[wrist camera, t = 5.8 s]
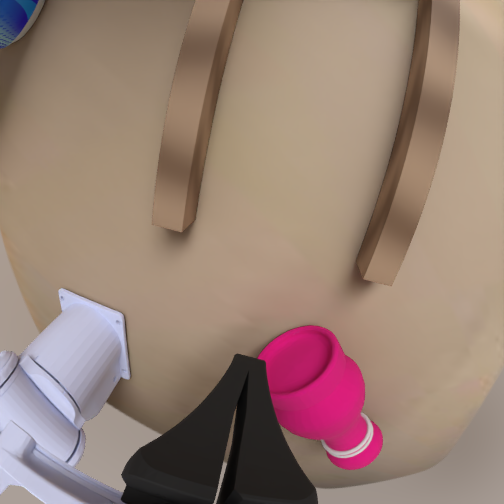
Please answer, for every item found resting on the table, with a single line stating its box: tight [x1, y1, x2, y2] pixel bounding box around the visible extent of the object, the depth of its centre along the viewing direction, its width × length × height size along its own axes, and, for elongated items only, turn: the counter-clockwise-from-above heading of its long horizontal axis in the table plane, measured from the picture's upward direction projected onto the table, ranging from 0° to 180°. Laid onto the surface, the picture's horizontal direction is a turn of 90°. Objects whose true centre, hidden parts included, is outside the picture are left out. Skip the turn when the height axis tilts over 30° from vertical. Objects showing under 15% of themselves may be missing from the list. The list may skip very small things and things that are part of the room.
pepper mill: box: [257, 325, 383, 470], centre depth 21 cm, size 7×7×20 cm
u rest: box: [152, 0, 460, 286], centre depth 12 cm, size 24×15×2 cm, turn 168°
